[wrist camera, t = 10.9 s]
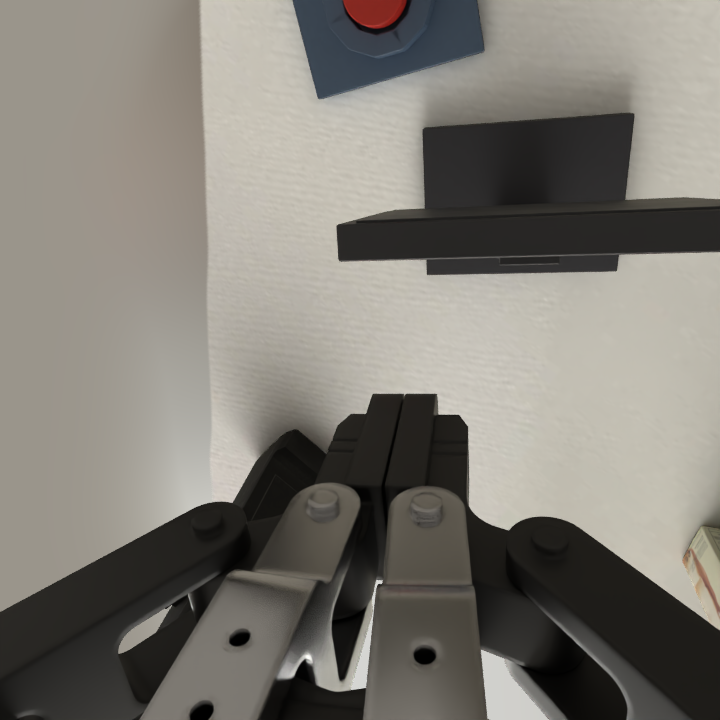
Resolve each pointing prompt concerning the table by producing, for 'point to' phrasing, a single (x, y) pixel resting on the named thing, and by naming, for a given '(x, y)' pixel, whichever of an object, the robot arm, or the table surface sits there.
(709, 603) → the white cardboard box
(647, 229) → the monitor screen
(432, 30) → the switch box
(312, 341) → the table surface
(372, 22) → the power button
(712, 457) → the table surface
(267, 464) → the portable radio
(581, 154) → the monitor stand
